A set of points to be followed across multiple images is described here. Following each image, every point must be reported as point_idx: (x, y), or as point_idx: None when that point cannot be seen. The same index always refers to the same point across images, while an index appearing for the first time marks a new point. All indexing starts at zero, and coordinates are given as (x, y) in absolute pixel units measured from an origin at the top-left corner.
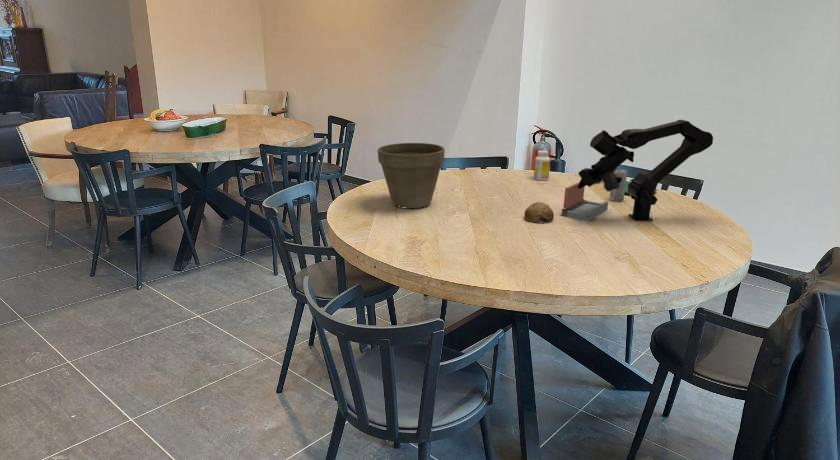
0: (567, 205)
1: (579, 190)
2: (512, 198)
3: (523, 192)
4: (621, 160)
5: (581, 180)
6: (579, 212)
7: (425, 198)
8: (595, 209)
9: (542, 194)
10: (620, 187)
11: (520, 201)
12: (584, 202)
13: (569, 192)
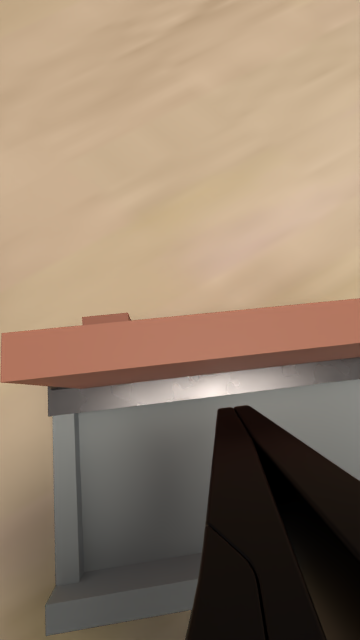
0: (89, 386)
1: (341, 352)
2: (171, 34)
3: (306, 21)
4: None
5: (204, 533)
6: (140, 466)
7: None
8: (192, 604)
9: (356, 94)
10: None
11: (153, 82)
12: (351, 379)
13: (73, 380)
